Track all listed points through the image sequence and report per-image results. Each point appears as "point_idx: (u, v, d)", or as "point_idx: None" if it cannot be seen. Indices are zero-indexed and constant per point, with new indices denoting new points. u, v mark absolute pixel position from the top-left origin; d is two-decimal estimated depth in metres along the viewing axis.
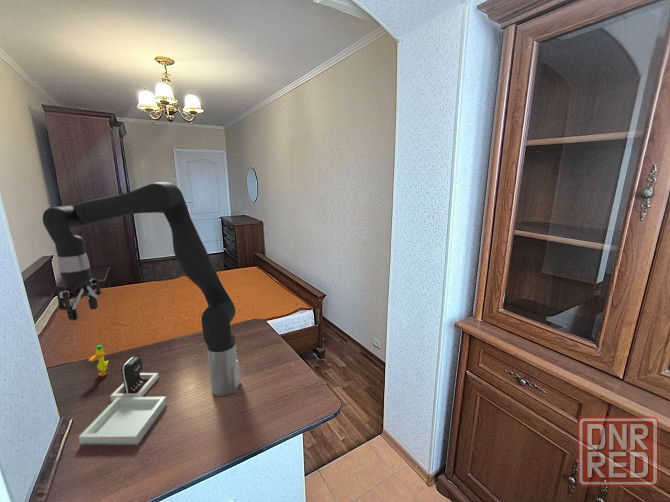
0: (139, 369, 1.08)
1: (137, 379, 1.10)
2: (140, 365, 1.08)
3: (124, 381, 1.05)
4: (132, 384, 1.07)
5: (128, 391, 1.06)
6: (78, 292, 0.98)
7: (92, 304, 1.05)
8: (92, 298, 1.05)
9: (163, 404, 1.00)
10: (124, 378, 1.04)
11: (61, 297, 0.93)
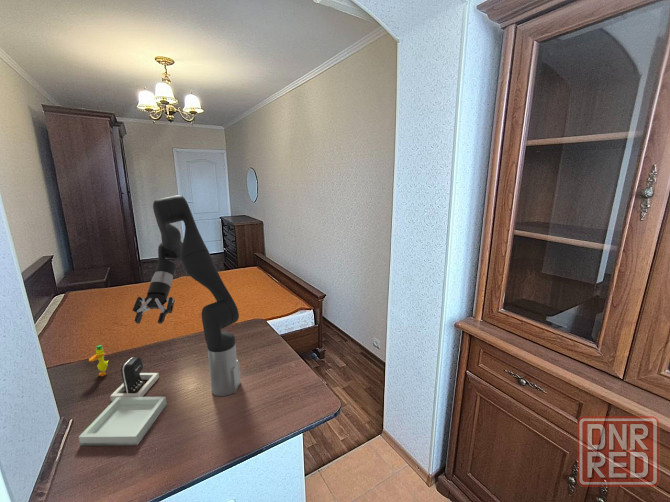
0: (139, 369, 1.08)
1: (137, 379, 1.10)
2: (140, 365, 1.08)
3: (124, 381, 1.05)
4: (132, 384, 1.07)
5: (128, 391, 1.06)
6: None
7: None
8: None
9: (163, 404, 1.00)
10: (124, 378, 1.04)
11: None
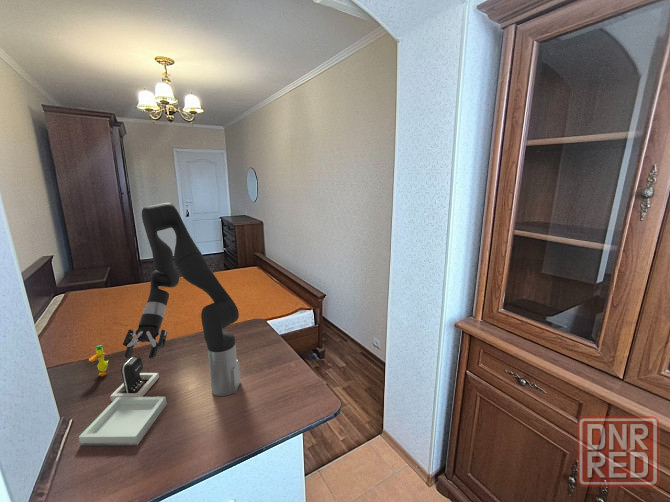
0: (139, 369, 1.08)
1: (137, 379, 1.10)
2: (140, 365, 1.08)
3: (124, 381, 1.05)
4: (132, 384, 1.07)
5: (128, 391, 1.06)
6: None
7: None
8: None
9: (163, 404, 1.00)
10: (124, 378, 1.04)
11: None
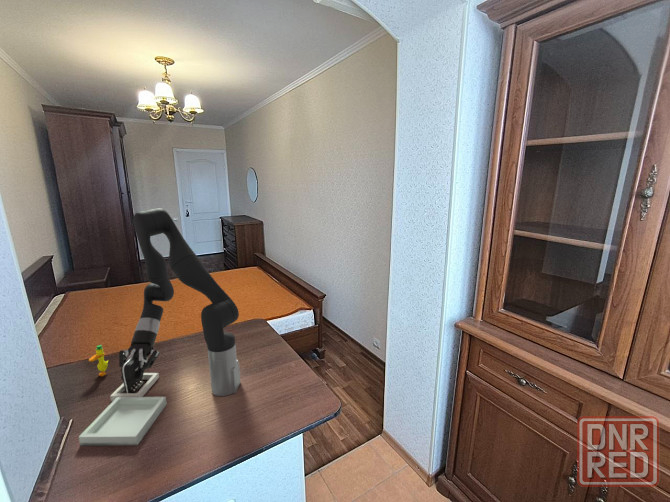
0: None
1: None
2: None
3: (124, 381, 1.05)
4: (132, 384, 1.07)
5: (128, 391, 1.06)
6: None
7: None
8: None
9: (163, 404, 1.00)
10: (124, 378, 1.04)
11: None
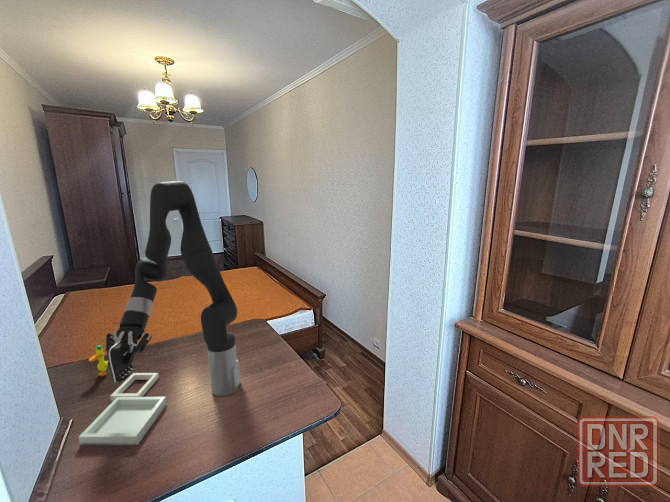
0: None
1: None
2: None
3: (111, 367, 0.91)
4: (120, 371, 0.94)
5: (116, 379, 0.93)
6: None
7: None
8: None
9: (163, 404, 1.00)
10: (111, 364, 0.91)
11: None
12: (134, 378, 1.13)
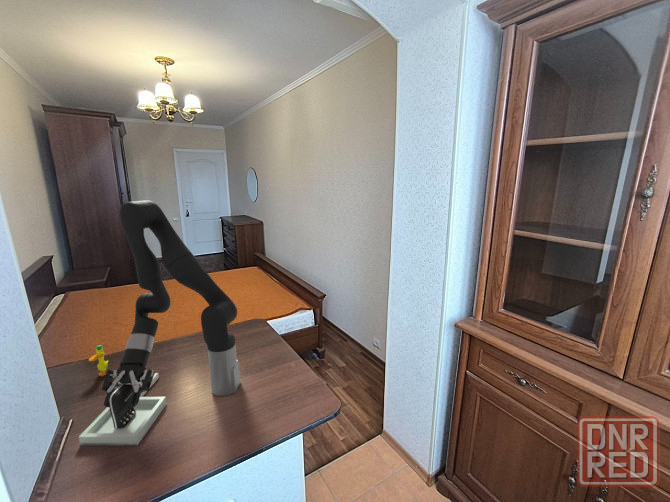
0: (130, 398, 0.92)
1: (128, 409, 0.94)
2: (131, 394, 0.93)
3: (112, 414, 0.89)
4: (122, 416, 0.92)
5: (117, 425, 0.90)
6: None
7: None
8: None
9: (163, 404, 1.00)
10: (112, 410, 0.89)
11: None
12: None
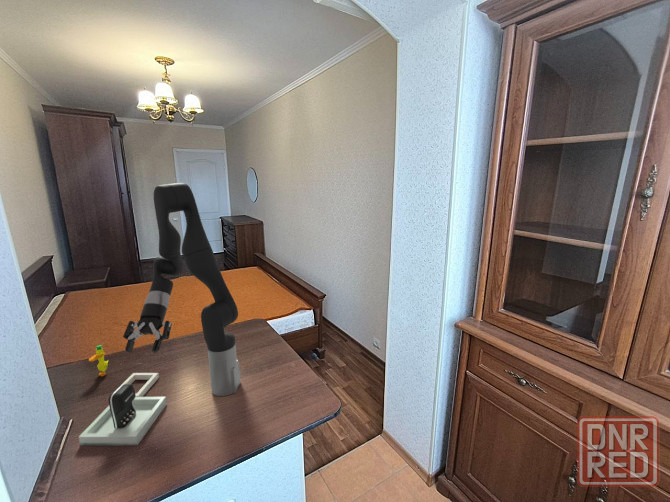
0: (130, 399, 0.92)
1: (128, 409, 0.94)
2: (132, 394, 0.93)
3: (113, 414, 0.89)
4: (122, 416, 0.92)
5: (117, 425, 0.90)
6: None
7: None
8: None
9: (163, 404, 1.00)
10: (112, 410, 0.89)
11: None
12: (134, 378, 1.13)
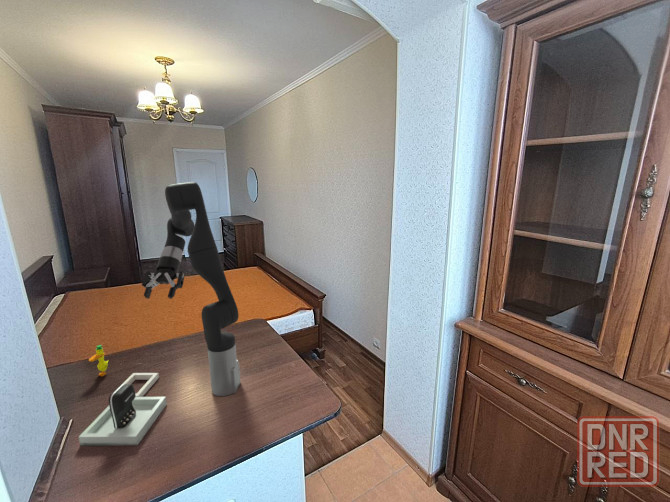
0: (130, 399, 0.92)
1: (128, 409, 0.94)
2: (132, 394, 0.93)
3: (113, 414, 0.89)
4: (122, 416, 0.92)
5: (117, 425, 0.90)
6: None
7: None
8: None
9: (163, 404, 1.00)
10: (112, 410, 0.89)
11: None
12: (134, 378, 1.13)
